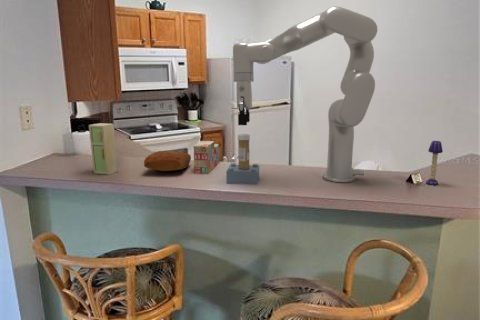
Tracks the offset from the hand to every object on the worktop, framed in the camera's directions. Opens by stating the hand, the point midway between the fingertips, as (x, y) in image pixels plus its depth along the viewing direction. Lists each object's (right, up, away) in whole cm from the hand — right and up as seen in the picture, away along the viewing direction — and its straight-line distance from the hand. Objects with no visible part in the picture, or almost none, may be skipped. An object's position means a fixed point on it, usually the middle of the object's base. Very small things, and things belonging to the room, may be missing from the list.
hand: (244, 123), depth 135 cm
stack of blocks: (-16, -18, +26) cm, 35 cm away
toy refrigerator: (-60, -20, +18) cm, 66 cm away
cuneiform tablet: (-33, -19, +21) cm, 44 cm away
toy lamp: (+72, -24, -1) cm, 75 cm away
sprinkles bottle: (0, -17, +4) cm, 18 cm away
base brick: (0, -22, +5) cm, 23 cm away
